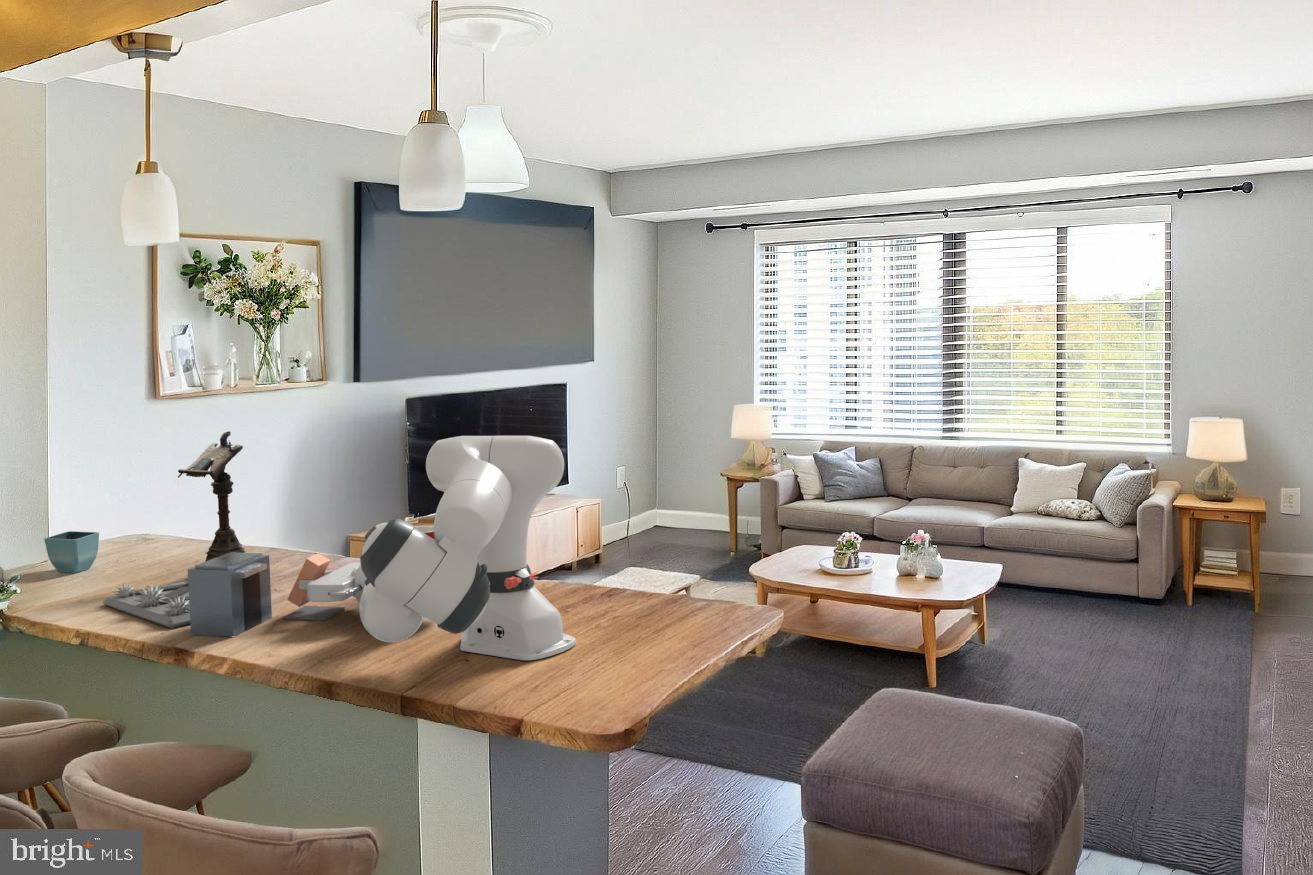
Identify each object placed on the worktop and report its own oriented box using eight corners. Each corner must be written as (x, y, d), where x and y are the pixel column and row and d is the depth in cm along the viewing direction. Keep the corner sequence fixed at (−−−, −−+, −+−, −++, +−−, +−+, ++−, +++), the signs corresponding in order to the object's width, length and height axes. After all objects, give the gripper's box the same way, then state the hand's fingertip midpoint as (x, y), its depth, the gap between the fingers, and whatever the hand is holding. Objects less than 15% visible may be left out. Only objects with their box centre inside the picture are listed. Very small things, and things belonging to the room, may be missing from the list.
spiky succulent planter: (268, 609, 225) (266, 576, 224) (169, 632, 209) (166, 597, 208) (197, 588, 244) (196, 557, 243) (101, 608, 227) (99, 575, 227)
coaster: (344, 609, 223) (344, 607, 223) (324, 620, 214) (324, 618, 214) (305, 607, 225) (305, 605, 225) (283, 618, 216) (283, 617, 216)
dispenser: (277, 617, 217) (274, 552, 216) (239, 637, 203) (235, 568, 202) (231, 615, 219) (228, 550, 217) (191, 634, 205) (187, 566, 204)
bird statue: (209, 586, 243) (201, 435, 239) (172, 580, 249) (164, 433, 246) (267, 572, 257) (260, 429, 253) (231, 566, 264) (224, 426, 260)
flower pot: (78, 575, 255) (75, 538, 254) (45, 574, 256) (42, 538, 255) (102, 567, 263) (100, 531, 263) (70, 566, 265) (68, 531, 264)
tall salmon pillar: (311, 600, 222) (330, 560, 220) (299, 607, 217) (318, 565, 215) (299, 593, 222) (318, 553, 220) (287, 599, 217) (306, 558, 216)
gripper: (348, 611, 207) (283, 608, 209) (392, 585, 227) (331, 583, 229) (347, 579, 206) (281, 577, 208) (391, 556, 226) (330, 554, 228)
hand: (308, 580), depth 219 cm, fingers closed on tall salmon pillar, 5 cm apart
